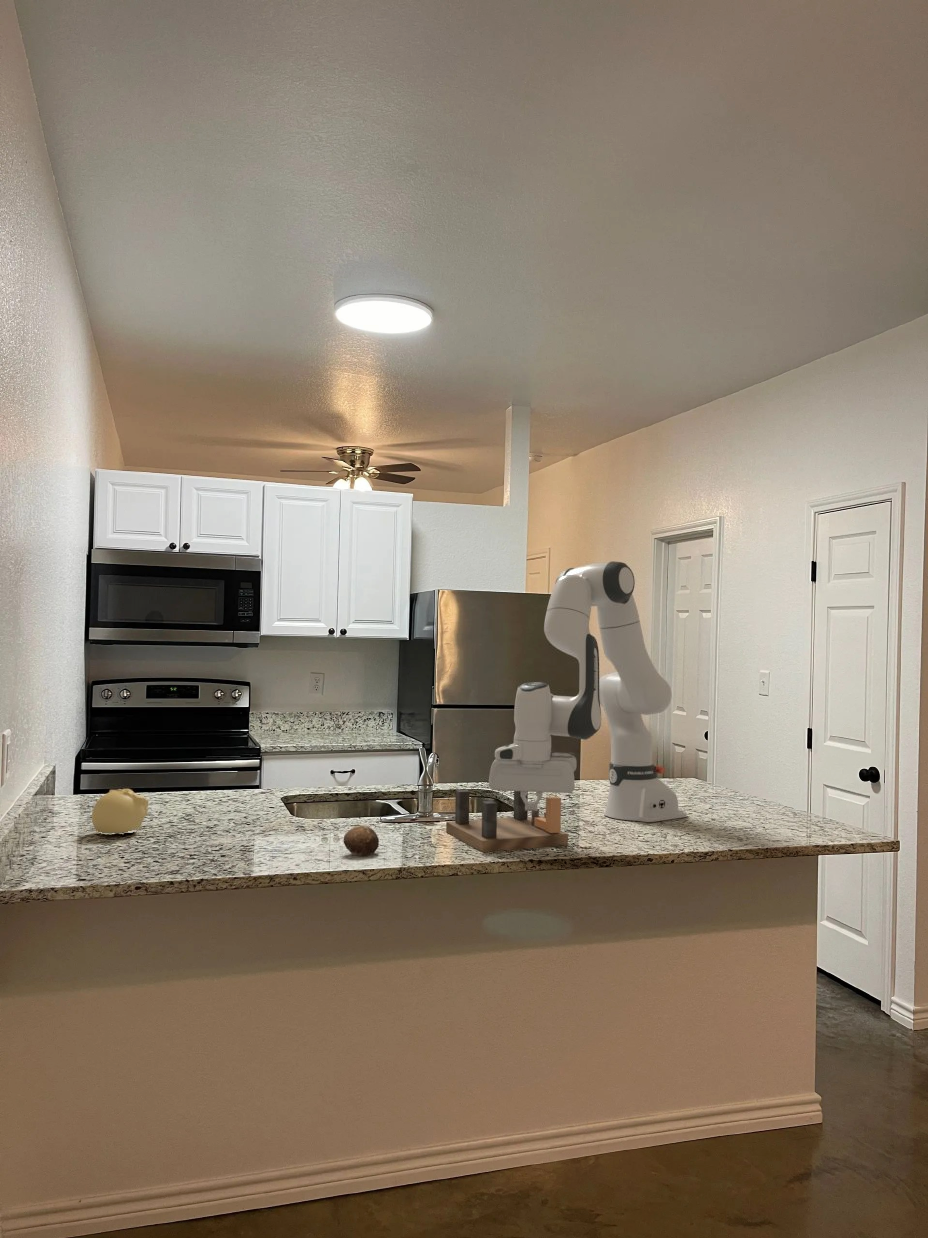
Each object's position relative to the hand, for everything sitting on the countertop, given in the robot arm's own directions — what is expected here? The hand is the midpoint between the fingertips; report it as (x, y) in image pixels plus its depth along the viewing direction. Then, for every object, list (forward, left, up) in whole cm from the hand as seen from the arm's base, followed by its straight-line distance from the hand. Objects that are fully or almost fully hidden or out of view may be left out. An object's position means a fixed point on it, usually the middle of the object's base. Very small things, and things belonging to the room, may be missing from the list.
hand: (531, 810), depth 219 cm
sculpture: (+89, -42, -8) cm, 99 cm away
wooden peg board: (+3, -7, -8) cm, 11 cm away
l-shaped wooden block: (-5, -1, -5) cm, 7 cm away
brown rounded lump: (+40, -4, -8) cm, 41 cm away
